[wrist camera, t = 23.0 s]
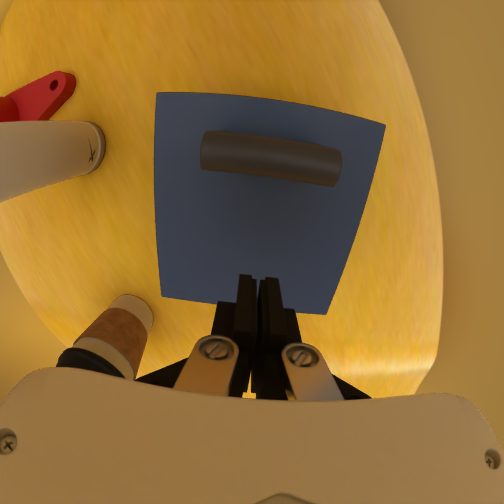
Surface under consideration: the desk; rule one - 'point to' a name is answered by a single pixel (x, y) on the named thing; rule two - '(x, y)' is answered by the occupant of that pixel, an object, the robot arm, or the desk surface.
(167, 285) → the lid
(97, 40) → the desk surface
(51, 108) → the lever
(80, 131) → the travel mug
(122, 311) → the coffee cup
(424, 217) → the desk surface
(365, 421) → the robot arm
